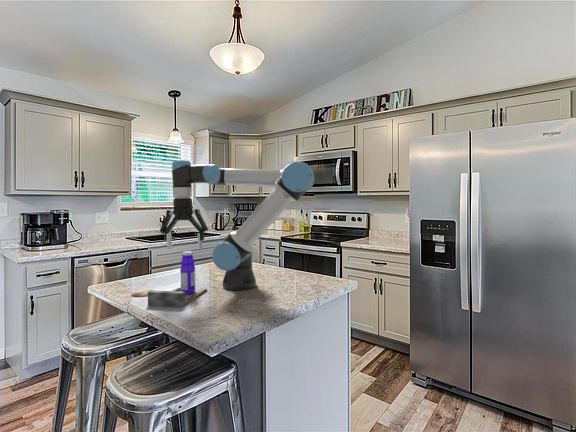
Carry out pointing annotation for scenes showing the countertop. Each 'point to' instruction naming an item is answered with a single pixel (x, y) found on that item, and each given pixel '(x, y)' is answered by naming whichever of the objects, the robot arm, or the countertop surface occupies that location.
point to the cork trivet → (140, 293)
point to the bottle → (187, 273)
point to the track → (171, 298)
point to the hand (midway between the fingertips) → (184, 248)
